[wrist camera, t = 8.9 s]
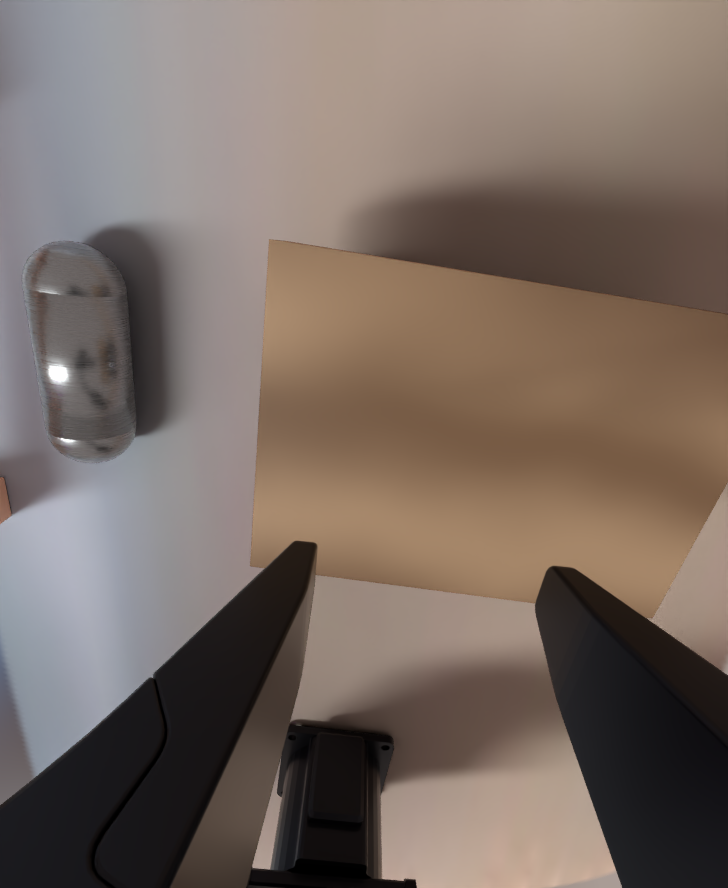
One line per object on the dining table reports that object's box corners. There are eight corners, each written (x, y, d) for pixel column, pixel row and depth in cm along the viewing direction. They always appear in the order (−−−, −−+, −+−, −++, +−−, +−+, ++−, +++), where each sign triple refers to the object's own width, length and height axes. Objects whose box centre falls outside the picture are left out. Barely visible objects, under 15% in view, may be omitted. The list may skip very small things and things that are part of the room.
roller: (53, 235, 16) (-12, 232, 13) (139, 248, 16) (93, 248, 13) (80, 439, 19) (32, 471, 16) (151, 448, 19) (116, 481, 16)
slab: (615, 570, 18) (652, 618, 15) (266, 523, 17) (250, 566, 15) (738, 315, 14) (812, 328, 11) (287, 241, 13) (269, 239, 11)
